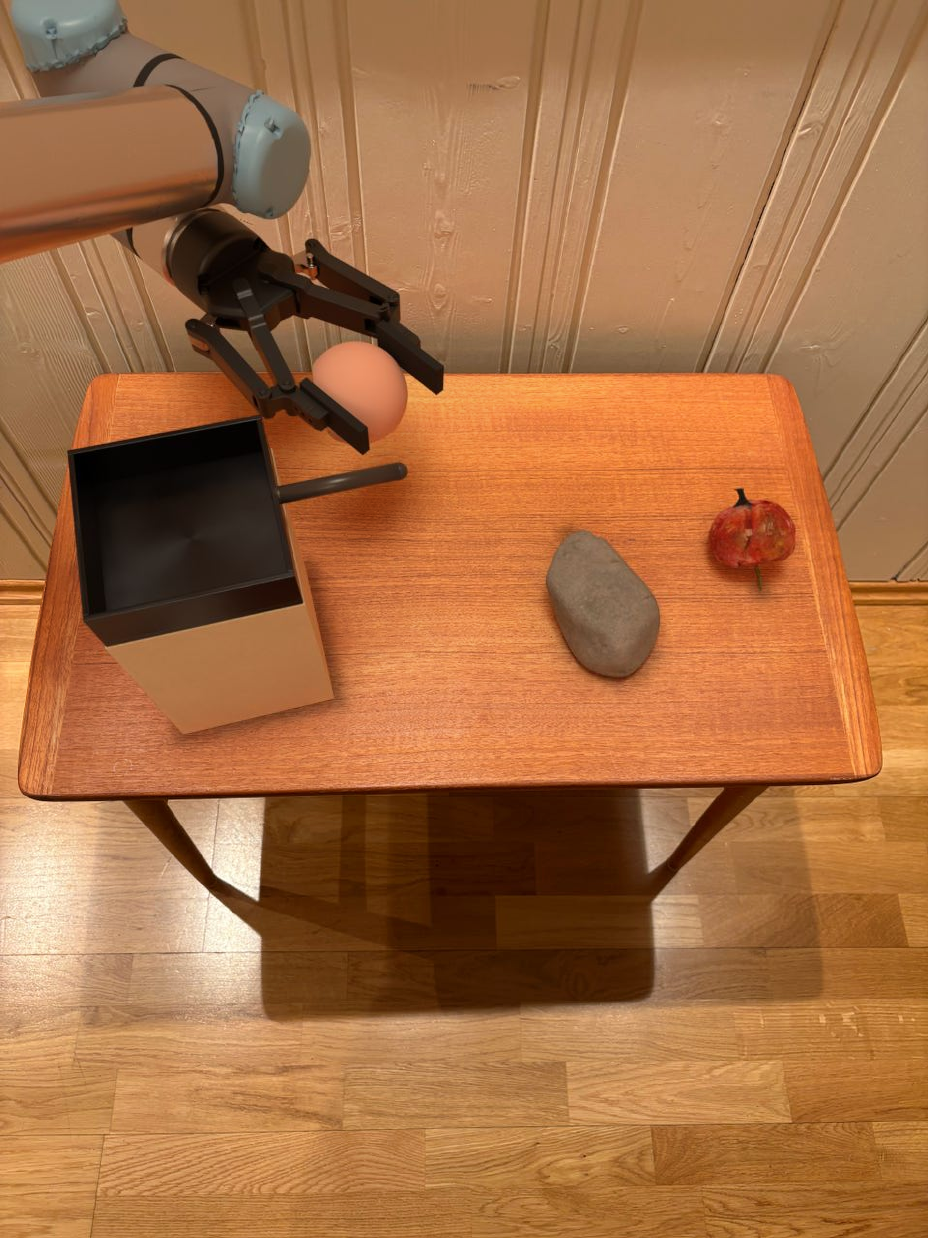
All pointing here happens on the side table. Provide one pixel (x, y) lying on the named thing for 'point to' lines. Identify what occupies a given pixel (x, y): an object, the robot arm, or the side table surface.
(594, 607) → the stone
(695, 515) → the side table surface
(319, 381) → the toy ball
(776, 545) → the pomegranate
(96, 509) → the pan
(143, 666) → the stand
